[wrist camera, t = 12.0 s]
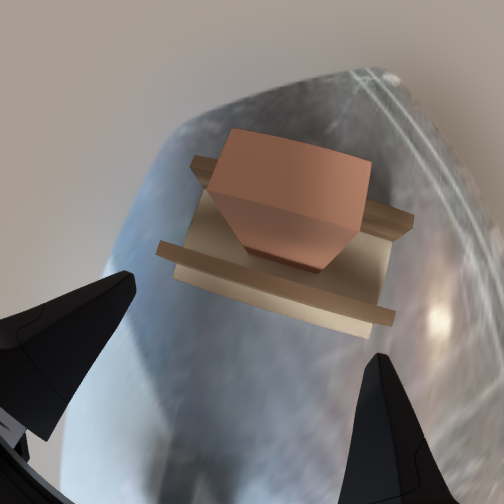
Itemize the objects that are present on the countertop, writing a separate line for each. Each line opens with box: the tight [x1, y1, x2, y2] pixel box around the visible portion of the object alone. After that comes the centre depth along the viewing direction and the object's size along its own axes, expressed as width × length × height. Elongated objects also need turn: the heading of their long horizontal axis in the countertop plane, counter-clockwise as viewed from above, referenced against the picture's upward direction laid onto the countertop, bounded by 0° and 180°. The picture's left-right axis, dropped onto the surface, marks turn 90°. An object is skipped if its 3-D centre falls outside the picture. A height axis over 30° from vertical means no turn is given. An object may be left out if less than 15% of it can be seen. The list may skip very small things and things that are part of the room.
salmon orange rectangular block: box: [207, 128, 372, 274], centre depth 15 cm, size 3×6×12 cm, turn 72°
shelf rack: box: [156, 155, 414, 339], centre depth 20 cm, size 10×16×5 cm, turn 72°
